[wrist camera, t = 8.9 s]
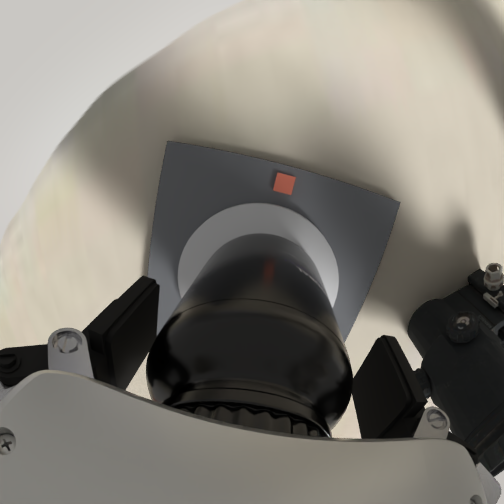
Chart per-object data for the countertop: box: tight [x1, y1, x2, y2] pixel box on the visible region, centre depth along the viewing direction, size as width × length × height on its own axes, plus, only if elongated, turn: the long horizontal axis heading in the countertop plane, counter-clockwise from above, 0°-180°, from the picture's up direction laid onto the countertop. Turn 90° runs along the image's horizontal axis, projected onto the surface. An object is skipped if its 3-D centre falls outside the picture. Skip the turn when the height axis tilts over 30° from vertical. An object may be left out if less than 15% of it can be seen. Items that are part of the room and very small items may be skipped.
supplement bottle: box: [146, 233, 353, 438], centre depth 10 cm, size 7×7×12 cm
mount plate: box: [148, 141, 400, 343], centre depth 16 cm, size 14×14×2 cm
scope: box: [408, 263, 504, 477], centre depth 11 cm, size 8×14×10 cm
